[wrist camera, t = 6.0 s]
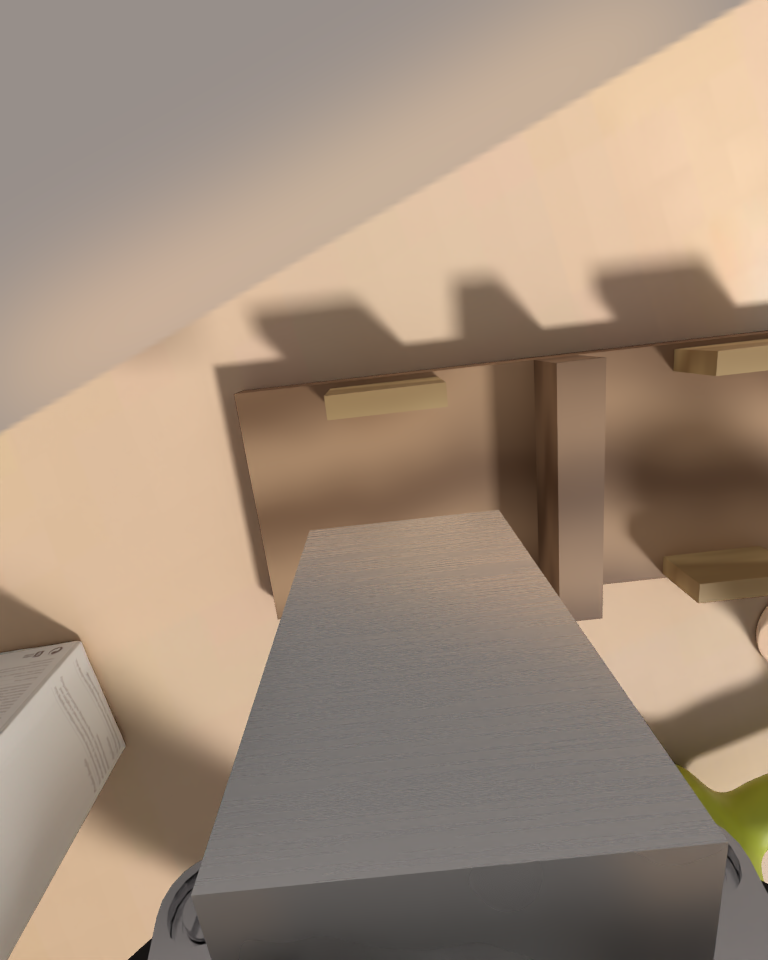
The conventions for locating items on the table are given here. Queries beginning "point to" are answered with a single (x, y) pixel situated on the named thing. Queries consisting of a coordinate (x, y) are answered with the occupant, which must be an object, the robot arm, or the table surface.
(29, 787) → the skincare box
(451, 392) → the board
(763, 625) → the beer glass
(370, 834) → the grey rectangular block
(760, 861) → the dumbbell
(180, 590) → the table surface
